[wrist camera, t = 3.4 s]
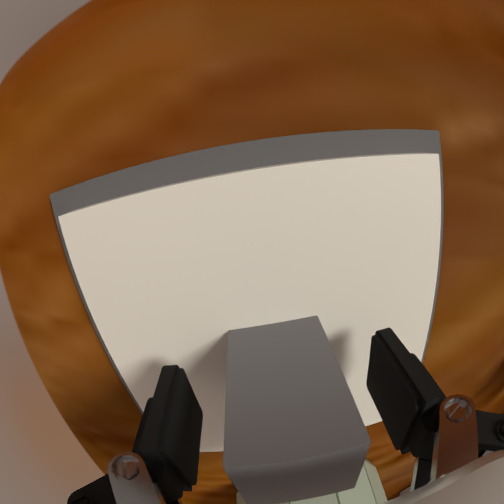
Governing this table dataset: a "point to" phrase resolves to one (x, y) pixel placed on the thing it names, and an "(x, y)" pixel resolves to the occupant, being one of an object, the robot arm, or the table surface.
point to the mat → (237, 160)
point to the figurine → (405, 491)
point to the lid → (268, 303)
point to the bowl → (349, 491)
